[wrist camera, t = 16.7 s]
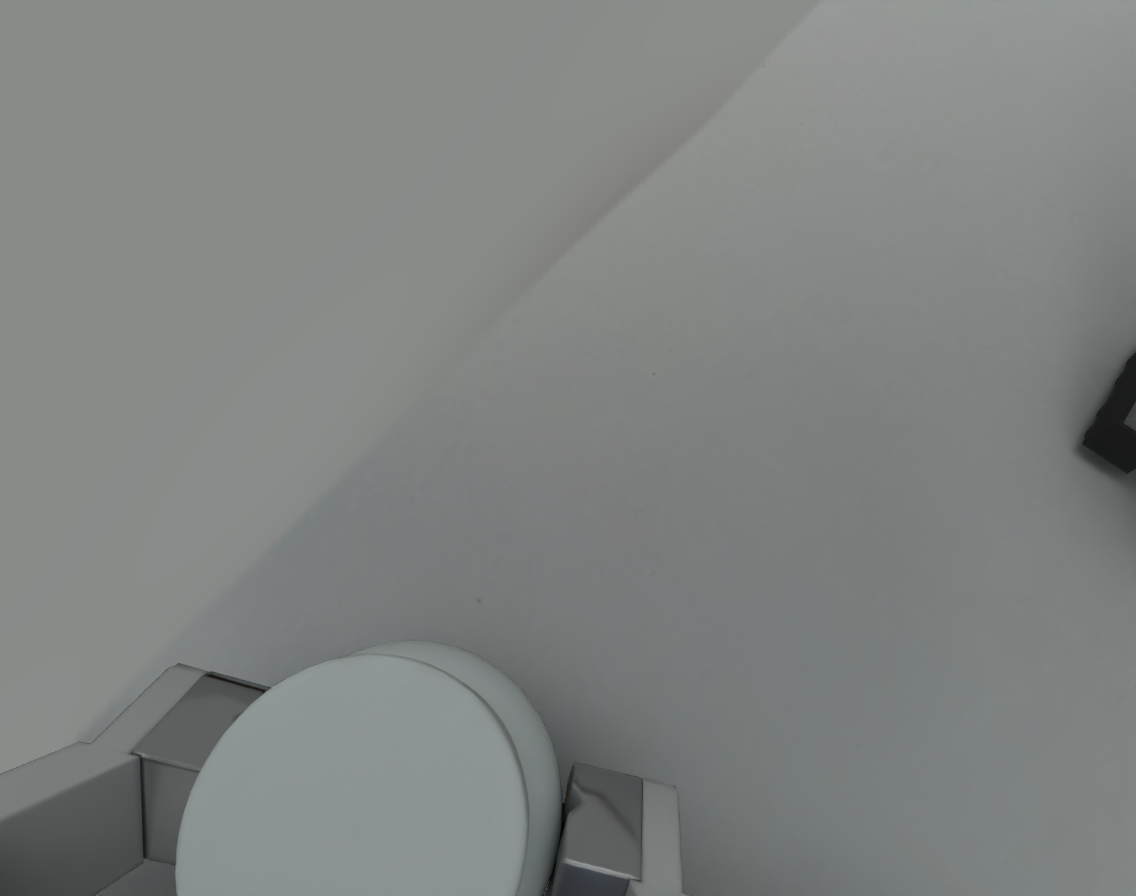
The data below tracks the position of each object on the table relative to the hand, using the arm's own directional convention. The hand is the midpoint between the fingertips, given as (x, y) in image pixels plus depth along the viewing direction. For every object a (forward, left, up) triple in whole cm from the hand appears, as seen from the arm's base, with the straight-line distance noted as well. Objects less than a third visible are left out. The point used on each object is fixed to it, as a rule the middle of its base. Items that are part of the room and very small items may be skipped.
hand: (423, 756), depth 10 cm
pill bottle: (-1, 0, -5) cm, 5 cm away
